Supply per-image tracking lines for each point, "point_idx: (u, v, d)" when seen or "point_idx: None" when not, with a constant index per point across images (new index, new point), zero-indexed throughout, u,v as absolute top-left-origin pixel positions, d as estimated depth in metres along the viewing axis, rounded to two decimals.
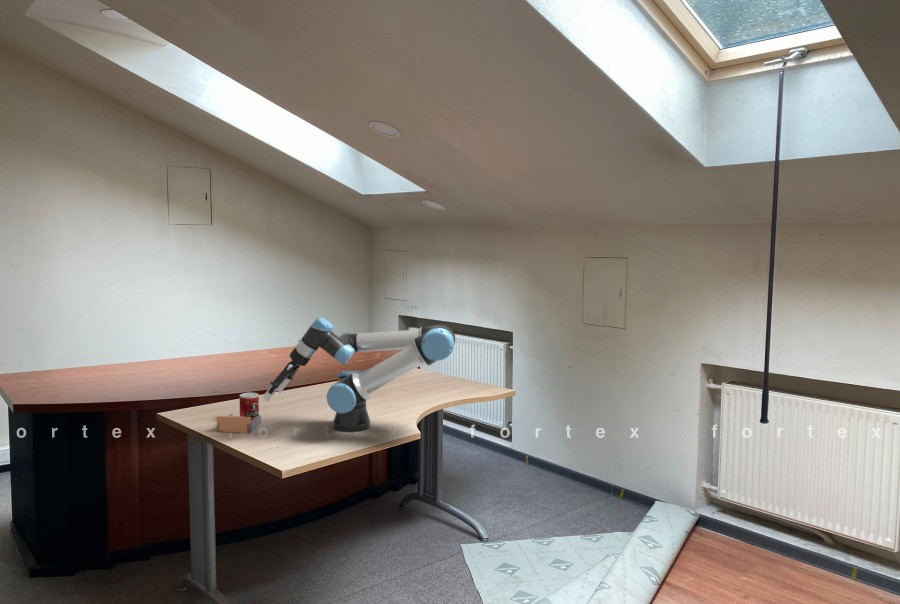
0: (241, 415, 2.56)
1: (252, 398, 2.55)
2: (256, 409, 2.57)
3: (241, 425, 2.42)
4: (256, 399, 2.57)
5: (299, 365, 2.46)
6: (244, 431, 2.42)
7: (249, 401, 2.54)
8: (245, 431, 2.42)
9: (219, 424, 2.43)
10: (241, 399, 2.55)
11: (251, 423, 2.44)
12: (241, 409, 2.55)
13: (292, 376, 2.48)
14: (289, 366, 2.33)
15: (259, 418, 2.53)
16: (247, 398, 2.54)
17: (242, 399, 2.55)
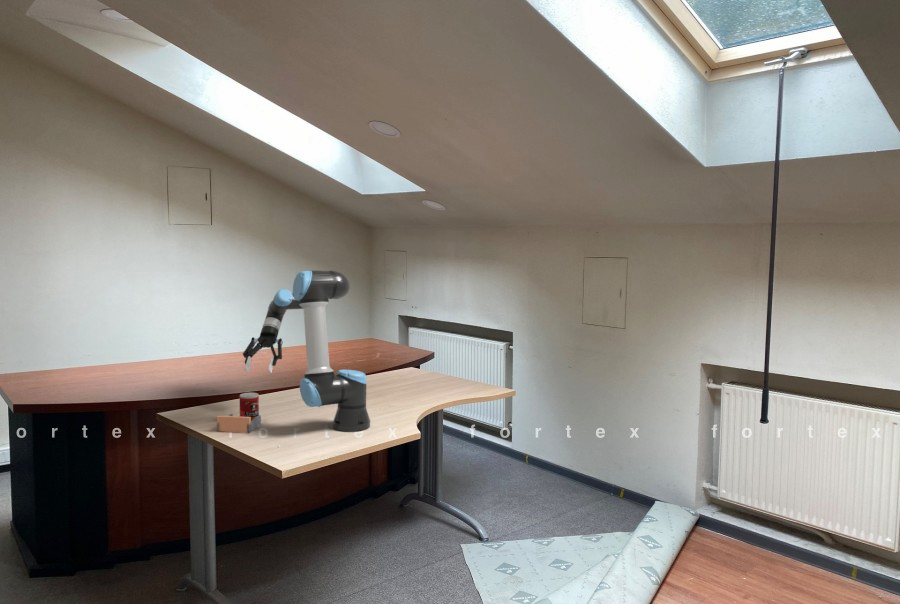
0: (241, 415, 2.56)
1: (252, 398, 2.55)
2: (256, 409, 2.57)
3: (241, 425, 2.42)
4: (256, 399, 2.57)
5: (277, 342, 2.75)
6: (244, 431, 2.42)
7: (249, 401, 2.54)
8: (245, 431, 2.42)
9: (219, 424, 2.43)
10: (241, 399, 2.55)
11: (251, 423, 2.44)
12: (241, 409, 2.55)
13: (275, 354, 2.71)
14: None
15: (259, 418, 2.53)
16: (247, 398, 2.54)
17: (242, 399, 2.55)
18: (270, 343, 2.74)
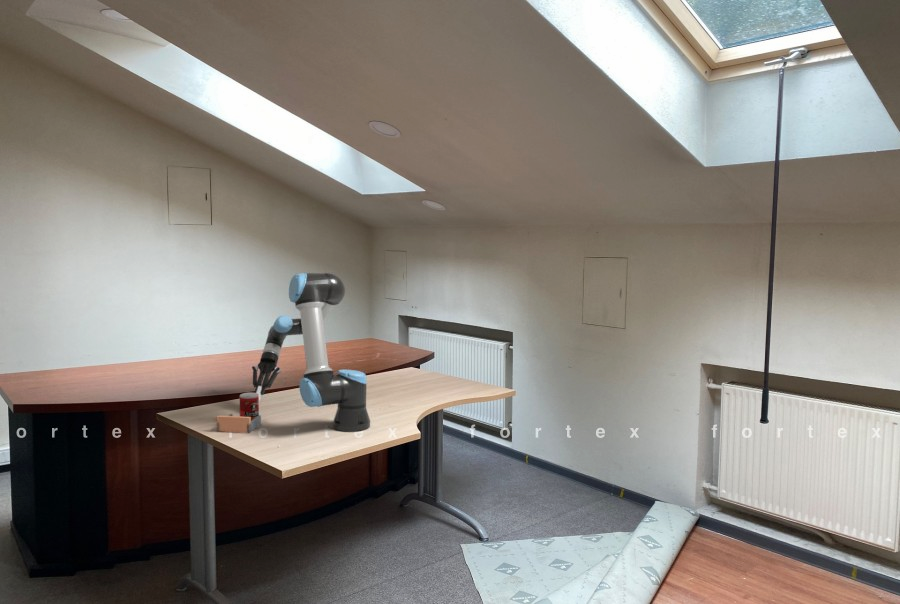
0: (241, 415, 2.56)
1: (252, 398, 2.55)
2: (256, 409, 2.57)
3: (241, 425, 2.42)
4: (256, 399, 2.57)
5: (274, 370, 2.76)
6: (244, 431, 2.42)
7: (249, 401, 2.54)
8: (245, 431, 2.42)
9: (219, 424, 2.43)
10: (241, 399, 2.55)
11: (251, 423, 2.44)
12: (241, 409, 2.55)
13: (265, 383, 2.72)
14: (252, 368, 2.78)
15: (259, 418, 2.53)
16: (247, 398, 2.54)
17: (242, 399, 2.55)
18: (267, 370, 2.76)
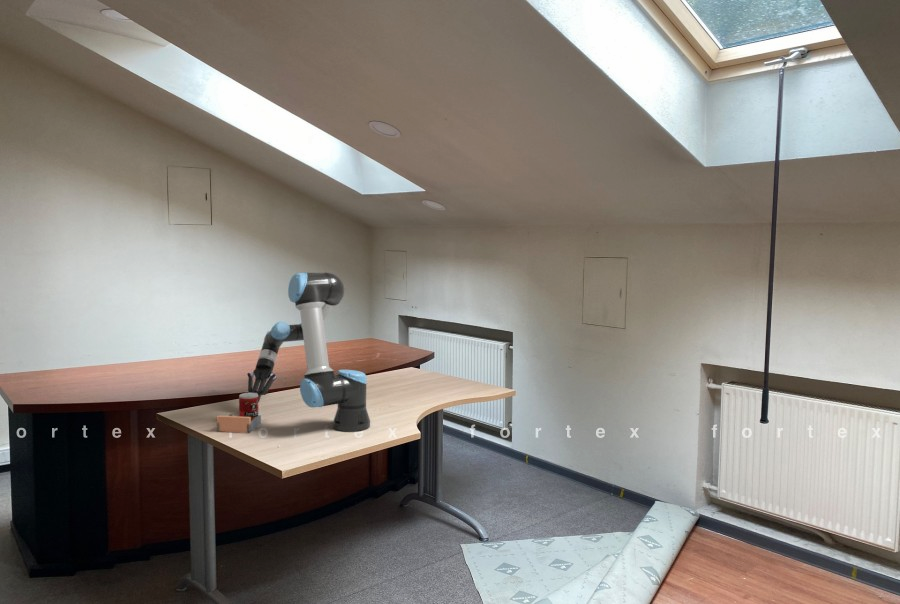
0: (241, 415, 2.55)
1: (252, 398, 2.55)
2: (256, 409, 2.56)
3: (241, 425, 2.42)
4: (256, 399, 2.56)
5: (270, 376, 2.72)
6: (244, 431, 2.42)
7: (249, 401, 2.54)
8: (245, 431, 2.42)
9: (219, 424, 2.43)
10: (241, 399, 2.55)
11: (251, 423, 2.44)
12: (241, 409, 2.55)
13: (260, 390, 2.67)
14: (248, 375, 2.74)
15: (259, 418, 2.53)
16: (247, 398, 2.54)
17: (241, 399, 2.54)
18: (262, 377, 2.71)
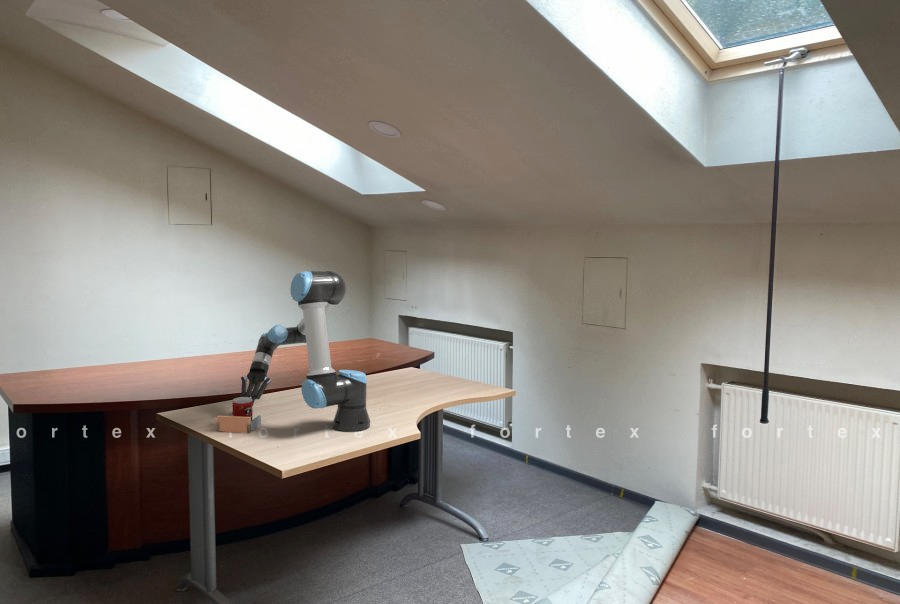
0: None
1: (246, 403, 2.47)
2: (250, 414, 2.49)
3: (241, 425, 2.42)
4: (250, 404, 2.49)
5: (264, 380, 2.64)
6: (244, 431, 2.42)
7: (243, 406, 2.47)
8: (245, 431, 2.42)
9: (219, 424, 2.43)
10: (235, 404, 2.47)
11: (251, 423, 2.44)
12: (235, 414, 2.47)
13: (254, 394, 2.60)
14: None
15: (259, 418, 2.53)
16: (241, 403, 2.46)
17: (235, 404, 2.47)
18: (256, 380, 2.64)
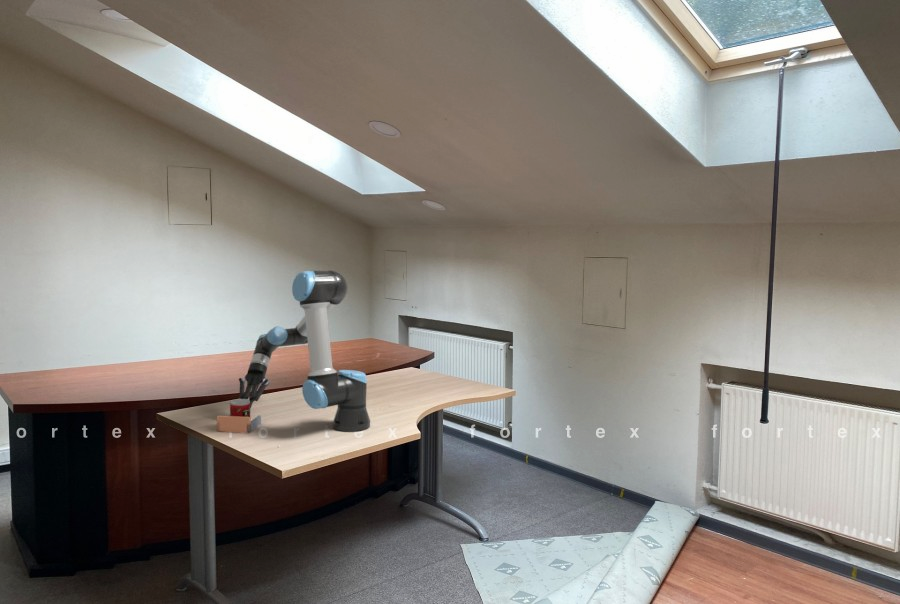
0: None
1: (244, 405, 2.44)
2: (248, 416, 2.46)
3: (241, 425, 2.42)
4: (248, 406, 2.46)
5: (262, 382, 2.61)
6: (244, 431, 2.42)
7: (241, 408, 2.44)
8: (245, 431, 2.42)
9: (219, 424, 2.43)
10: (232, 406, 2.44)
11: (251, 423, 2.44)
12: None
13: (252, 396, 2.57)
14: None
15: (259, 418, 2.53)
16: (239, 405, 2.43)
17: (233, 406, 2.44)
18: (254, 382, 2.61)
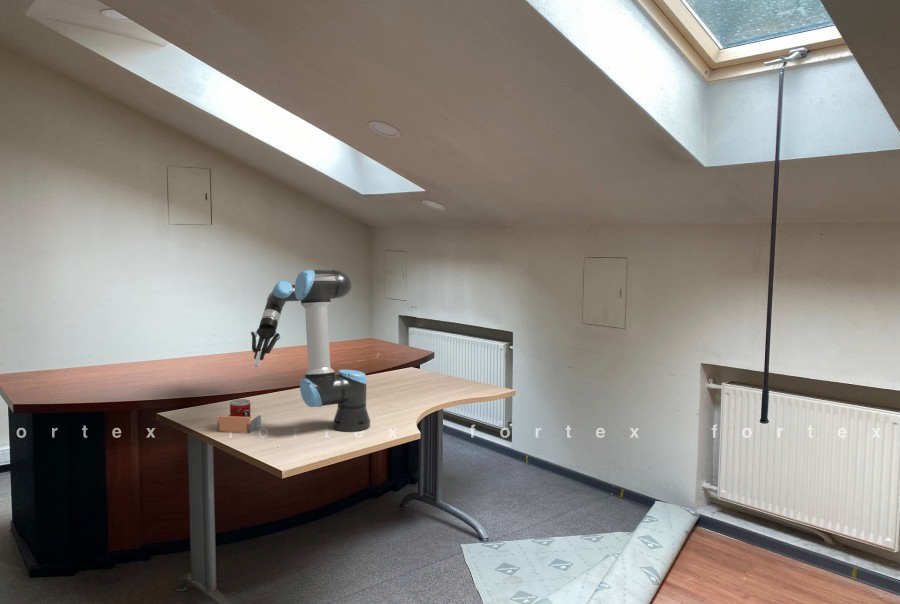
0: None
1: (244, 405, 2.44)
2: (248, 416, 2.46)
3: (241, 425, 2.42)
4: (248, 406, 2.46)
5: (274, 336, 2.73)
6: (244, 431, 2.42)
7: (241, 408, 2.44)
8: (245, 431, 2.42)
9: (219, 424, 2.43)
10: (232, 406, 2.44)
11: (251, 423, 2.44)
12: None
13: (264, 348, 2.68)
14: (251, 334, 2.74)
15: (259, 418, 2.53)
16: (239, 405, 2.43)
17: (233, 407, 2.44)
18: (266, 336, 2.72)
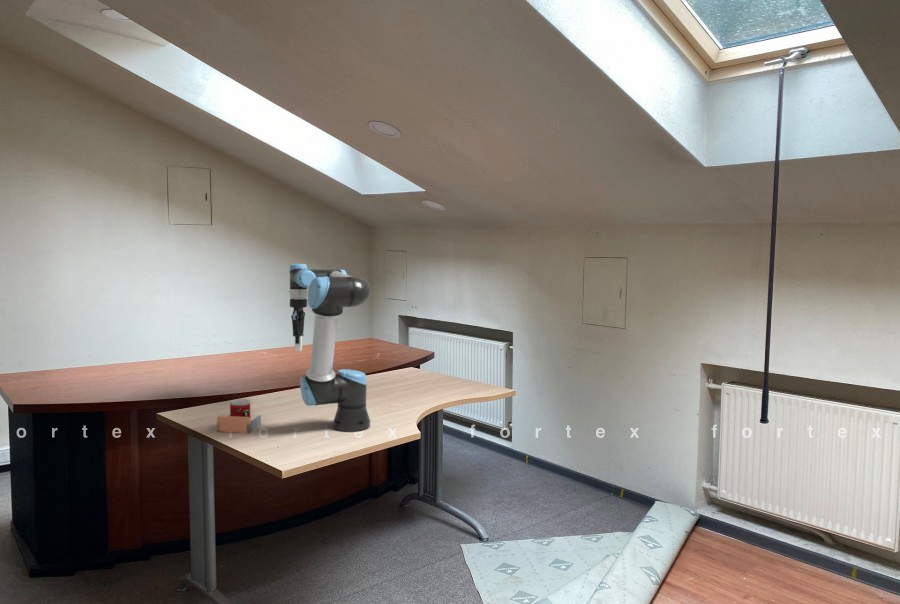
0: None
1: (244, 405, 2.44)
2: (248, 416, 2.46)
3: (241, 425, 2.42)
4: (248, 406, 2.46)
5: (303, 316, 2.80)
6: (244, 431, 2.42)
7: (241, 408, 2.44)
8: (245, 431, 2.42)
9: (219, 424, 2.43)
10: (232, 406, 2.44)
11: (251, 423, 2.44)
12: None
13: (302, 332, 2.79)
14: (294, 317, 2.70)
15: (259, 418, 2.53)
16: (239, 405, 2.43)
17: (233, 407, 2.44)
18: (302, 318, 2.77)
